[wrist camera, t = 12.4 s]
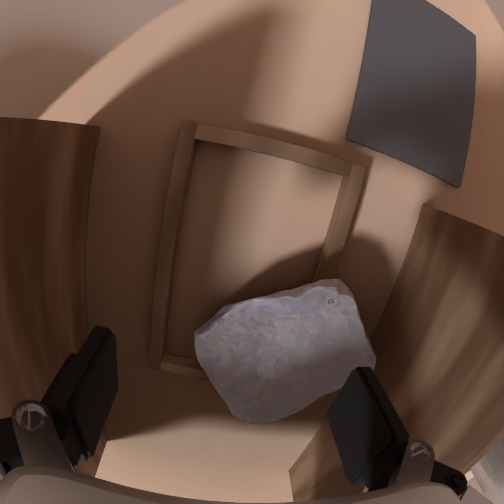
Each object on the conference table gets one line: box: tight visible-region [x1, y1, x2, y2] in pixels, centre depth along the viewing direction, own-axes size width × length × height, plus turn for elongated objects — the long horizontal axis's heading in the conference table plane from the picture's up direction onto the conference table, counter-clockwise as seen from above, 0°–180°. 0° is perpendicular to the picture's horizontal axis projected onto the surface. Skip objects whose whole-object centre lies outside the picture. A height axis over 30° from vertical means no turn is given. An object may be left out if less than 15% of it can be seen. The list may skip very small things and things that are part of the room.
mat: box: [346, 0, 476, 188], centre depth 16 cm, size 11×16×1 cm
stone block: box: [194, 278, 377, 424], centre depth 20 cm, size 12×5×10 cm
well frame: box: [0, 117, 504, 502], centre depth 16 cm, size 28×37×15 cm
